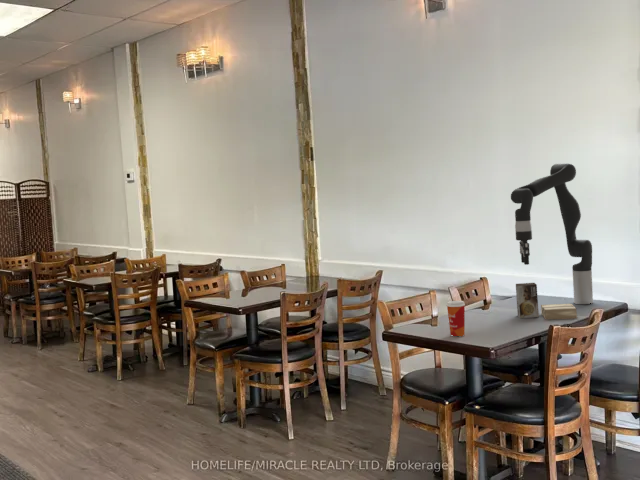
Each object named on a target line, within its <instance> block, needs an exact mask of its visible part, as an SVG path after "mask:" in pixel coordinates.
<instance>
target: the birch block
mask: <svg viewBox="0 0 640 480" xmlns="http://www.w3.org/2000/svg"><path fill="white" fill-rule="evenodd" d="M540 311H541V316H542V317H543V318H544V319H545V320H562V319H563V320H565V319H567V320H568V319H569V320H570V319H578V317H577V316H578V315H577V308H576V307H575V306H574V305H573V304H572V303H556V304H555V303H554V304H540Z"/></svg>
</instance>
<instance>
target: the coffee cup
mask: <svg viewBox="0 0 640 480" xmlns="http://www.w3.org/2000/svg"><path fill="white" fill-rule="evenodd" d="M465 306H466V304H465V301H463V300H450V301H447V302H446V307H447V316H448V325H449V333H450V336H451V335H453V336H461V337H464V336H465V324H466V323H465V315H466V314H465V312H466V311H465V308H466V307H465ZM463 335H464V336H463ZM453 336H452V337H453Z"/></svg>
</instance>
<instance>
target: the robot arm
mask: <svg viewBox="0 0 640 480" xmlns="http://www.w3.org/2000/svg"><path fill="white" fill-rule="evenodd" d="M549 174H550V175H547V176H543V177H540V178H537V179H535V180H534V181H532V182H530V183H528V184H526V185H522V186H520V187H517V188H515V189H513V191H512V192H511V193H510V200H511V202H512V203H514V204H517V205H518V204H520V207H519V208H517V209H515V211H514V217H515V225H514V229H515V240H516V241H519V242H518V243H519V253H520V259H521V263H522V264H523V265H530V255H531V254H530V253H531V252H530V243H528V242H529V241H531V240H533V230H532V226H533V225H532V221H531V210H532V206H533V201H534V198H535V197H537V196H540V195H542V194H543V193H545V192H546V191H548V190H551V189H553V188H554V190H555V191H554V192H555V194H556V197H557V201H558V204H559V205H558V206H559V211H560V214H561V215H560V216H561V219H562V222H563V226H564V231H565V237H566V239H565V240H566V246H567V250H568V254H569V255H570V257H572V258H581V259H580V261H579V262H578V263H574V264H573V265H572V267H571V268H572V287H573V290H572V291H573V303H574V304H576V305H591V304H593V303H594V297H593V296H594V294H593V293H594V291H593V275H592V266H593V245H592V244H593V243H592V242H591V241H590V240H589V239H577V236H576V235H577V234H576V232H577V231H576V230H577V228H578V225H579V222H580V220H581V217H582V213H581V209H580V205H579V202H578V201H577V199H576V197H575V196H574V195H573V194H572V193H571V192H570V191H569V189H568V186H567V184H566V183H569V182H571V181H573V180H574V179H575V178H576V175H577V169H576V166H574V165H573V164H572V163H555V164H554V163H553V165H552V166H551V167H550V173H549ZM590 303H591V304H590Z"/></svg>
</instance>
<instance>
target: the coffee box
mask: <svg viewBox="0 0 640 480" xmlns="http://www.w3.org/2000/svg"><path fill="white" fill-rule="evenodd" d="M515 294H516V297H515V298H516V308H517V309H516V312H517V313H516V314H517V317H518V318H519V319H529V318H530V319H531V318H539V317H540V316H539V299H538V284H536V283H535V282H522V283H515Z"/></svg>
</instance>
